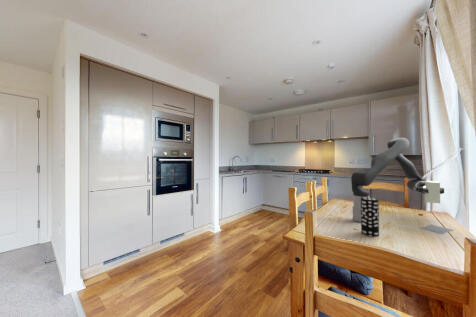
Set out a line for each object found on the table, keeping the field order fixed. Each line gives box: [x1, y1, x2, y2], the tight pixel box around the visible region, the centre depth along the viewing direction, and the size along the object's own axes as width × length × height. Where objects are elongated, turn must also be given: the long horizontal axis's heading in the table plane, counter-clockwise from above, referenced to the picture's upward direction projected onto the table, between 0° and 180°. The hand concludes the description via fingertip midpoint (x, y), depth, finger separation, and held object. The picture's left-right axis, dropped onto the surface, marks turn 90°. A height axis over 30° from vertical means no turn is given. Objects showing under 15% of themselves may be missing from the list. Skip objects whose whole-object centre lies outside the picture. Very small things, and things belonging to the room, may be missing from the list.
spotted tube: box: [360, 196, 380, 238], centre depth 109 cm, size 8×8×20 cm
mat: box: [419, 224, 454, 235], centre depth 113 cm, size 14×10×1 cm
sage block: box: [424, 180, 441, 204], centre depth 113 cm, size 5×5×12 cm
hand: (434, 191), depth 111 cm, fingers closed on sage block, 5 cm apart
